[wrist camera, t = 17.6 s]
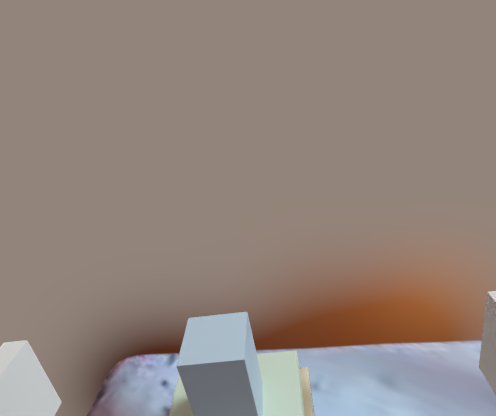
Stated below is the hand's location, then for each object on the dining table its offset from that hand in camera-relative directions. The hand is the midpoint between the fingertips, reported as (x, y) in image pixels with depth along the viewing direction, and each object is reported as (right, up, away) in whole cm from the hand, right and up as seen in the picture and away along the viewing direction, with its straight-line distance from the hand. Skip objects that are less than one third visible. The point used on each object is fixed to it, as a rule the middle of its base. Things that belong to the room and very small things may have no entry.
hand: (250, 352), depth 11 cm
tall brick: (-2, -17, +29) cm, 34 cm away
